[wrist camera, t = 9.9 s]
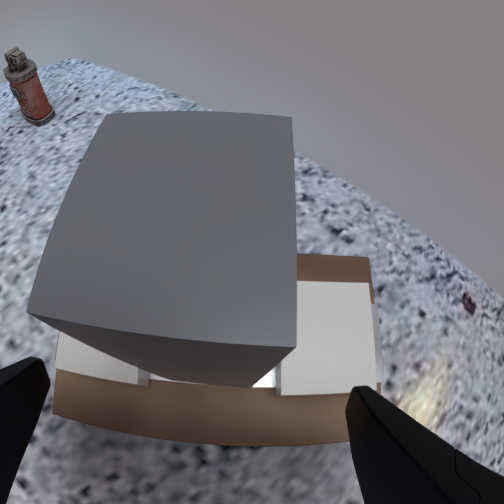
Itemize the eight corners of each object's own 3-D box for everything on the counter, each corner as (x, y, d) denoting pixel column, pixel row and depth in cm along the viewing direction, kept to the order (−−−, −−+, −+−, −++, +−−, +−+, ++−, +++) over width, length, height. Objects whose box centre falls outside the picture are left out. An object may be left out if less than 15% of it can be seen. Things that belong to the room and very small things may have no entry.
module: (250, 387, 16) (297, 347, 4) (169, 379, 16) (26, 311, 4) (255, 300, 18) (291, 113, 7) (180, 293, 18) (108, 110, 7)
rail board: (375, 436, 16) (380, 436, 15) (58, 414, 15) (52, 413, 14) (364, 262, 21) (368, 257, 20) (87, 248, 20) (82, 243, 20)
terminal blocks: (360, 392, 16) (376, 389, 14) (72, 373, 15) (54, 367, 13) (355, 296, 19) (368, 282, 17) (88, 281, 18) (73, 267, 16)
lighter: (18, 114, 29) (-8, 56, 20) (37, 99, 30) (15, 41, 21) (38, 130, 27) (7, 62, 18) (60, 113, 28) (34, 44, 19)
